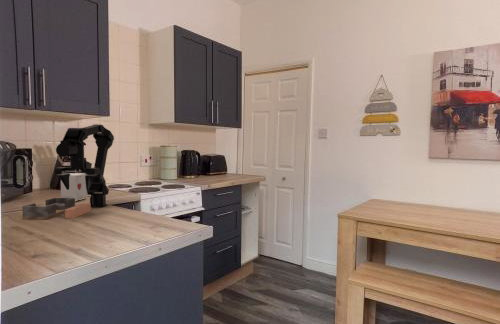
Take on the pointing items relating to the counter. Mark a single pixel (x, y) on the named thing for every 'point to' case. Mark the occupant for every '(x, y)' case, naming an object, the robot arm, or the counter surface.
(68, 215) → the rail
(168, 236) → the counter surface
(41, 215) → the bracket stand
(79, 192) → the supplement box
